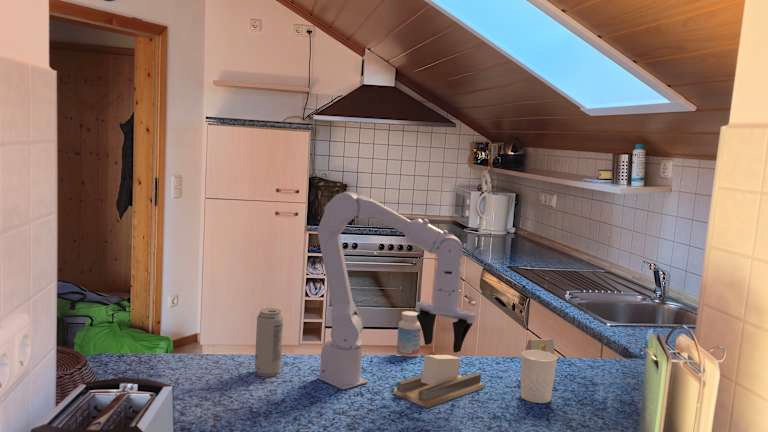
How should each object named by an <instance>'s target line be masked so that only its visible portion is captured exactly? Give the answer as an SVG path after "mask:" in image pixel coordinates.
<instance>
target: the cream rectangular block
mask: <svg viewBox="0 0 768 432" xmlns="http://www.w3.org/2000/svg"><path fill="white" fill-rule="evenodd" d="M461 361H462V358H460V357H457V356H455V355H449V354H425V356H424V363H423V367H422V373H421V375H422V377H421V382H423V383H426V384H429V385H432V386H436V385H439V384H442V383H445V382H448V381H451V380H454V379H457V378H458V373H459V374H460V365H461Z"/></svg>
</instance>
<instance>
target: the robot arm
mask: <svg viewBox="0 0 768 432" xmlns="http://www.w3.org/2000/svg"><path fill="white" fill-rule="evenodd" d="M356 217H358V219H360V220H361V219H362V220H363V219H374V220H376V221H379V222H381V223H383V224H384V225H386V226H389V227H391V228H393V229H395V230H397V231H399V232H401V233H403V234H404V236H405V240H406V241H407V242H408V243H410V244H412V245H413V246H416V247H417V248H419V249H422V250H423V251H424V252H427V253H429V254H432V255H433V254H435V255H436V257H437V260H436V267H435V270H434V283H433V295H432V296H433V298H432V299H433V300H432V303H430V302H424V301H417V302H415V312H417V313H419V314H417V319H418V322H419V323H420V326H421V331H422V332H421V333H422V336H423V342H424V345H426V346H428V345H430V344H432V342H433V337H434V326H435V321H436V318H437V316H440V317H445V318H449V319H452V320H456V321H454V322H452V328H453V349H452V350H453V351H452V352H453V353H457V354H458V353H460V352H461V350H462V346H463V345H464V344H463V343H464V342H465V338H466V337H467V334H468V332H469V330H470V329H471V327H472V326H473V324H475V322H476V315H477V314H476V313H475V312H471V311H468V310H465V309H462V308H459V303H460V302H459V299H460V298H459V297H460V289H461V288H460V287H461V274H462V272H461V271H462V270H461V267H462V261H461V260H462V258H463V256H464V249H463V244H462V241H461V240H460V239H459V238H458V237H457V236H455V234H453V233H451V234H450V233H449V231H448V230H446V229H444V230H442V229H439V228H437V227H436V226H434V225H432V224H431V223H430V220H428V219H426V218H424V219H423V220H422V219H421V218H416V219H412V220H410V219H408V218H407V217H404V215H401V214H399V213H397V212H396V211H394V210H393V209H390V208H389V207H387V206H385V205H383V204H382V203H380V202H378V201H377V200H374V199H372V198H370V197H368V196H366V195H362V194H359V193H357V192H355V191H354V190H347V191H344V192H341V193H338V194H336V195H334V197H332V198H331V200H330V201H329V202H328V203H327V204H326V205H325V207H324V212H323V215H322V217H321V219H320V223H319V225H318V227H317V237H318V242H319V246H320V252H321V256H322V262H323V267H324V271H325V276H326V282H327V283H326V284H327V287H328V292H329V297H330V302H331V322H332V325H331V330H330V337H331V338H330V339H329V340H327V341H326V342H325V343H324V344H323V346H322V348H321V352H320V366H319V368H320V369H319V375H316V378H317V379H319V380H321V381H322V382H326V383H327V384H329V385H332V386H334V387H335V388H338V389H341V390H348V389H350V388H354V387H358V386H361V385H364V384H367V383H369V380H367V379H366V378H363V377H361V373H362V372H361V371H362V354H363V352H362V351H363V342H362V340H361V339H360V335H361V333H362V332H363V329H364V320H363V318H362V317H361V315H360V313H359V312H358V310H357V306H356V304H355V301H354V299H353V294H352V293H353V292H352V289H351V284H350V278H349V274H348V269H347V265H346V264H347V263H346V259H345V253H344V248H343V243H342V239H341V234H342V232H343V231H344V229H345V228H346V226H347V225H348V223H349V222H351V221H352V220H353V219H355V218H356Z"/></svg>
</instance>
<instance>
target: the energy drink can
mask: <svg viewBox="0 0 768 432" xmlns="http://www.w3.org/2000/svg"><path fill="white" fill-rule="evenodd" d="M281 311H282V310H280V309H279V308H278V309H277V308H271V307H270V308H269V307H268V308H262V309H260V310H259V314H258V315H257V317H256V333H255V337H256V338H255V357H254V359H255V360H254V370H255V372H256V374H257V375H258V376H259V377H274V376H278V374H279V372H281V369H282V347H283V346H282V345H283V327H284V318H283V315H282V314H281Z"/></svg>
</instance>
